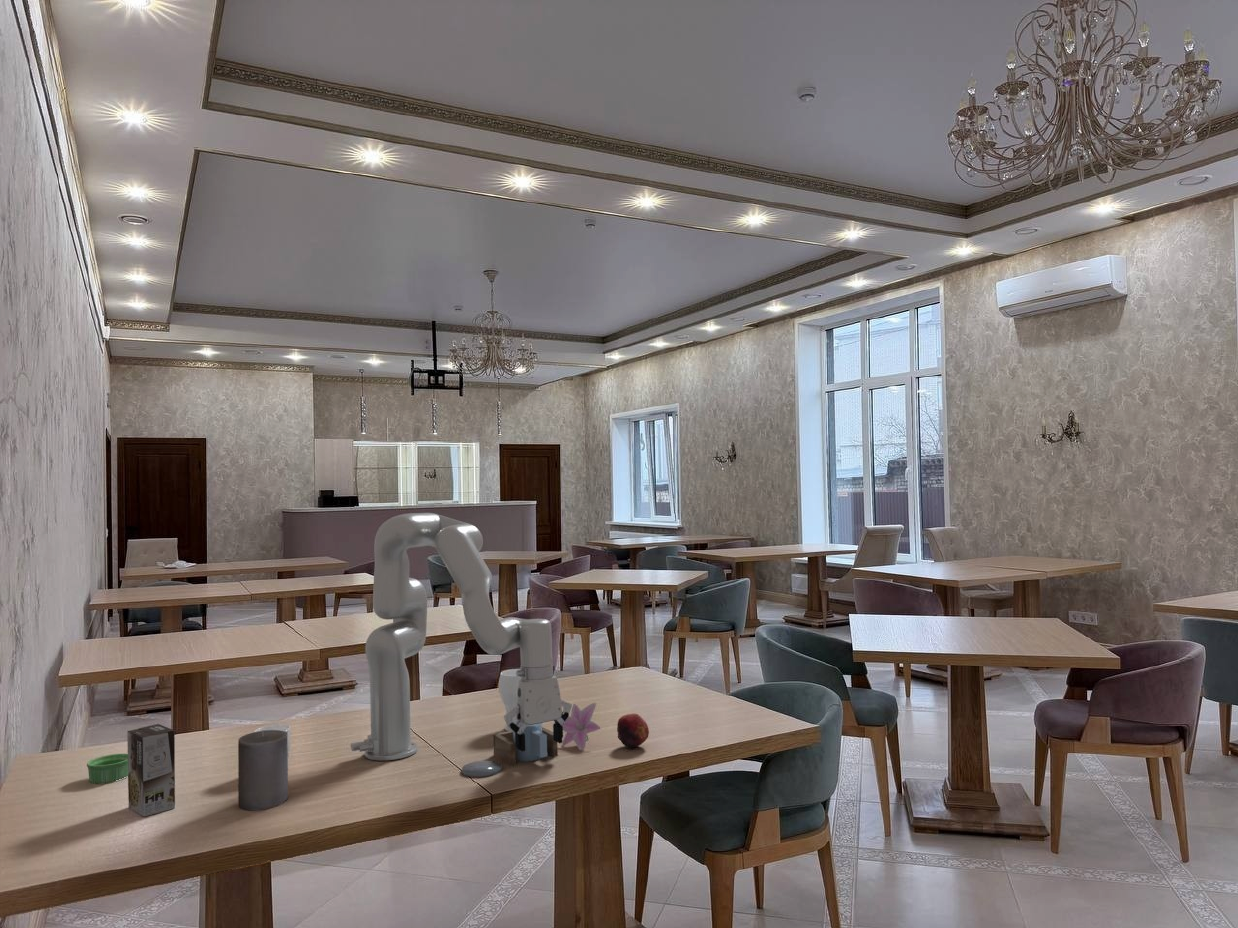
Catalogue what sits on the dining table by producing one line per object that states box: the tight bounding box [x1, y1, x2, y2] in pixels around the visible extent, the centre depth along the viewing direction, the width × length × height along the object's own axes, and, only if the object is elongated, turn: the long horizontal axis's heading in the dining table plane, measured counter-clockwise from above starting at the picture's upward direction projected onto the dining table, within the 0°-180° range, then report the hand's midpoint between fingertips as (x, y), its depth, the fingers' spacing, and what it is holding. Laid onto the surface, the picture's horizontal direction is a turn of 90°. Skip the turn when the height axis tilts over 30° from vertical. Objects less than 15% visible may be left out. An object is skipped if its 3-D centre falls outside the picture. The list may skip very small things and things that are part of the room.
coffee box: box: [126, 723, 176, 818], centre depth 172 cm, size 9×6×16 cm
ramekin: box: [86, 753, 128, 784], centre depth 192 cm, size 9×9×4 cm
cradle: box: [492, 726, 559, 766], centre depth 200 cm, size 12×10×5 cm
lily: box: [561, 702, 601, 751], centre depth 208 cm, size 12×12×10 cm
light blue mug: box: [513, 721, 548, 763], centre depth 197 cm, size 7×12×8 cm, turn 33°
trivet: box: [461, 760, 503, 778], centre depth 189 cm, size 9×9×1 cm
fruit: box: [616, 713, 650, 749], centre depth 204 cm, size 8×8×8 cm
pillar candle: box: [237, 730, 289, 811], centre depth 174 cm, size 10×10×15 cm
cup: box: [498, 668, 521, 732], centre depth 223 cm, size 11×11×15 cm
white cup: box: [253, 724, 291, 760], centre depth 192 cm, size 8×8×10 cm
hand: (539, 745), depth 194 cm, fingers open, 9 cm apart
